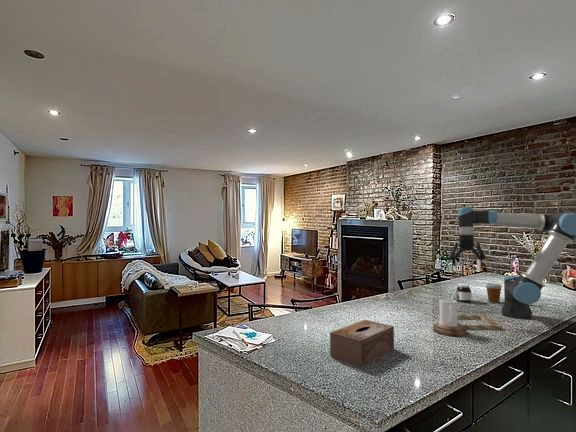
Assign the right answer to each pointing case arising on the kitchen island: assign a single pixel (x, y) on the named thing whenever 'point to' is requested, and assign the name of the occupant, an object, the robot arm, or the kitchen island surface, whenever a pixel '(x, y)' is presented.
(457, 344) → the kitchen island surface
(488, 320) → the square wooden frame
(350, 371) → the kitchen island surface
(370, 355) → the tissue box cover
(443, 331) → the brown wooden saucer
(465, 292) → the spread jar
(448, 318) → the mug
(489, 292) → the disposable coffee cup
